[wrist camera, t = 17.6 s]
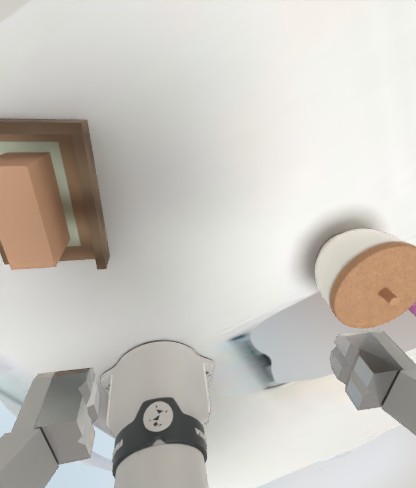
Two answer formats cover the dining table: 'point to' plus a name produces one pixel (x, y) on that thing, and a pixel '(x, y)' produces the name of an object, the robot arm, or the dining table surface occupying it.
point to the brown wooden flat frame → (65, 179)
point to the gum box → (413, 308)
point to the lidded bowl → (366, 276)
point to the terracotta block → (31, 211)
